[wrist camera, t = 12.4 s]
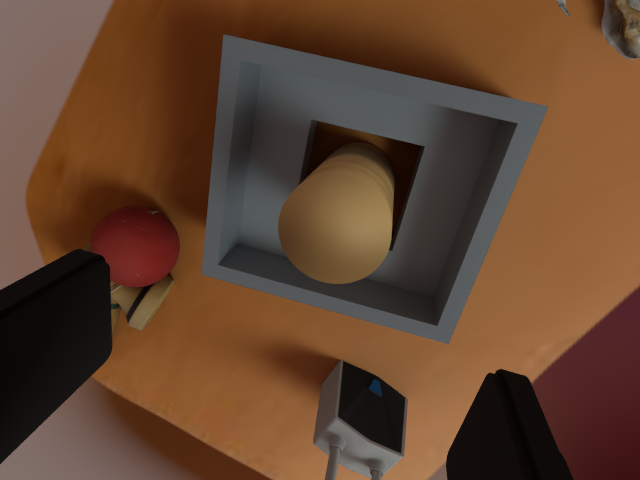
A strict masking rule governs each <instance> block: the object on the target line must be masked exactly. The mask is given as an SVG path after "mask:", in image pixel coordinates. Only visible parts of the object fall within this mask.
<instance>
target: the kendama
mask: <svg viewBox="0 0 640 480" xmlns="http://www.w3.org/2000/svg"><path fill="white" fill-rule="evenodd" d="M179 249H180V243H179V237H178V234H177V231H176V229H175V227H174V226H173V224H172V223H171V222H170V221H169V220H168V219H167V218H166V217H165V216H164V215H162V214H161V213H160V212H159V211H155V210H152V209H149V208H145V207H136V206H134V207H125V208H121V209H118V210H116V211H114V212H112V213H110V214H109V215H108V216H106V217H105V218H104V219H103V220H102V221H101V222H100V223H99V225H98V226H97V227H96V229H95V231H94V233H93V236H92V240H91V243H90V244H89V245H87V246H86V247H85V248H84V249H83V250H85V251H89V252H93V253H96V254H100V255H102V256H103V257H104V258H105V260H106V263H108V264H109V266H110V279H111V318H112V337H113V334H114V331H115V328H116V325H117V322H118V319H119V314H120V309H121V308H122V309H123V311H124V313H125V315H126V317H127V322H128V325H129V326H131V327H133V328H135V329H137V330H139V331H142V330H144V328H145V327H146V326H147V324H148V323H149V322H150V320H151V319H152V317H153V316H154V314H155V313H156V311H157V310H158V308H159V306H160V305H161V303H162V302H163V300H164V298H165V297H166V295H167V294H168V292H169V290H170V289H171V287H172V286H173V284H174V279H173V278H171V277H170V276H168V275H167V274H168V273H169V272H170V271H171V270H172V269H173V267H174V265H175V264H176V261H177V258H178V255H179Z"/></svg>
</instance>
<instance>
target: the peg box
mask: <svg viewBox="0 0 640 480" xmlns="http://www.w3.org/2000/svg"><path fill="white" fill-rule="evenodd" d="M547 109H548V106H544V105H539V104H535V103H530V102H526V101H521V100H517V99H512V98H508V97H503V96H499V95H494V94H490V93H485V92H481V91H476V90H472V89H467V88H463V87H458V86H454V85H449V84H445V83H440V82H436V81H431V80H427V79H422V78H418V77H414V76H409V75H405V74H400V73H396V72H391V71H387V70H382V69H378V68H373V67H369V66H364V65H360V64H355V63H351V62H346V61H342V60H337V59H333V58H328V57H324V56H319V55H315V54H310V53H306V52H301V51H297V50H292V49H288V48H283V47H279V46H274V45H270V44H265V43H261V42H256V41H252V40H247V39H243V38H238V37H234V36H229V35H225V34H223V45H222V56H221V67H220V78H219V89H218V100H217V111H216V122H215V133H214V144H213V155H212V166H211V177H210V188H209V199H208V210H207V220H206V231H205V242H204V253H203V264H202V275H205V276H209V277H212V278H216V279H220V280H223V281H227V282H230V283H234V284H237V285H241V286H244V287H248V288H251V289H255V290H259V291H262V292H266V293H269V294H273V295H276V296H280V297H283V298H287V299H290V300H294V301H298V302H301V303H305V304H308V305H312V306H315V307H319V308H322V309H326V310H330V311H333V312H337V313H340V314H344V315H347V316H351V317H354V318H358V319H361V320H365V321H369V322H372V323H376V324H379V325H383V326H386V327H390V328H393V329H397V330H400V331H404V332H408V333H411V334H415V335H418V336H422V337H425V338H429V339H432V340H436V341H439V342H443V343H447V344H449V341H450V339H451V337H452V334H453V332H454V329H455V327H456V325H457V322H458V320H459V318H460V315H461V313H462V310H463V308H464V306H465V303H466V301H467V299H468V296H469V294H470V291H471V289H472V287H473V284H474V282H475V280H476V277H477V275H478V272H479V270H480V268H481V265H482V263H483V261H484V258H485V256H486V253H487V251H488V249H489V246H490V244H491V242H492V239H493V237H494V234H495V232H496V230H497V227H498V225H499V223H500V220H501V218H502V215H503V213H504V211H505V208H506V206H507V204H508V201H509V199H510V197H511V194H512V192H513V189H514V187H515V185H516V182H517V180H518V178H519V175H520V173H521V170H522V168H523V166H524V163H525V161H526V159H527V156H528V154H529V151H530V149H531V147H532V144H533V142H534V140H535V137H536V135H537V132H538V130H539V128H540V125H541V123H542V121H543V118H544V116H545V113H546V111H547ZM318 121H320V122H324V123H328V124H333V125H337V126H341V127H345V128H349V129H354V130H358V131H362V132H366V133H370V134H375V135H379V136H383V137H387V138H391V139H396V140H400V141H404V142H408V143H412V144H417V145H421V148H420V151H419V154H418V158H417V161H416V164H415V167H414V171H413V174H412V177H411V181H410V184H409V187H408V190H407V194H406V197H405V200H404V203H403V207H402V210H401V213H400V216H399V220H398V223H397V226H396V229H395V233H394V236H393V237H391V243H390V248H389V250H388V253H387V255H386V257H385V259H384V260H383V262H382V263H381V264H380V266H379V267H378V268H377V269H376V270H375V271H373V272H372V273H371V274H370V275H368V276H366V277H365V278H363V279H360V280H358V281H355V282H351V283H345V284H330V283H325V282H321V281H318V280H315V279H313V278H311V277H309V276H307V275H305V274H304V273H302V272H301V271H300V270H299V269H297V268H296V267H295V266H294V265H293V264H292V263H291V261H290V260H289V259H288V257H287V256H286V254H285V252H284V250H283V248H282V246H281V243H280V239H279V234H278V221H279V215H280V211H281V209H282V206H283V204H284V202H285V201H286V199H287V198H288V196H289V195H290V194H291V193H292V192H293V191H294V190H295V189H296V188H297V187H298V186H299V185H300V184H301V183H302V182H303V181H304V180H305V179H306V178H307V174H308V168H309V163H310V158H311V153H312V148H313V143H314V138H315V132H316V127H317V122H318Z"/></svg>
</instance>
